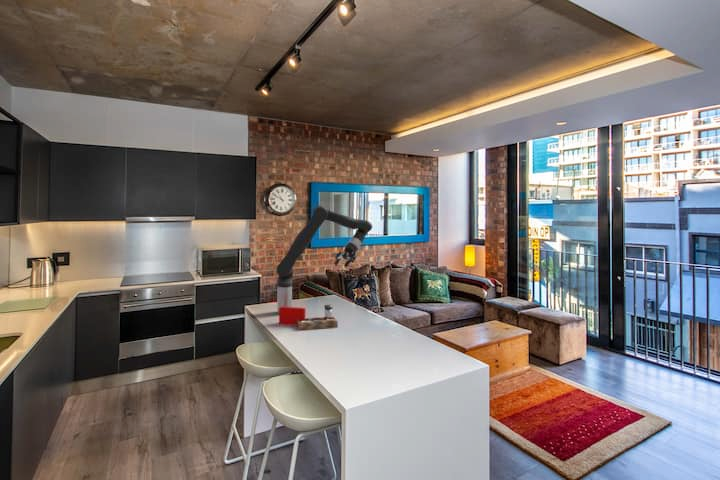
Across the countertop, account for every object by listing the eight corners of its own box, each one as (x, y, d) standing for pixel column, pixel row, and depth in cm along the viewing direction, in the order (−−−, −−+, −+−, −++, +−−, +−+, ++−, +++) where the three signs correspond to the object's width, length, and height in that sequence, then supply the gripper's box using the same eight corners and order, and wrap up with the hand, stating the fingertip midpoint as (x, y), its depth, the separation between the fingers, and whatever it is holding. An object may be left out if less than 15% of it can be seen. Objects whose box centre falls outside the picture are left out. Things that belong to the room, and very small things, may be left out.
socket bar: (299, 330, 207) (299, 322, 207) (296, 324, 216) (296, 317, 216) (337, 327, 214) (337, 320, 214) (333, 322, 223) (333, 315, 223)
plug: (323, 323, 221) (323, 304, 220) (330, 322, 222) (331, 304, 222) (325, 325, 217) (325, 306, 216) (332, 324, 218) (333, 306, 217)
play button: (305, 324, 219) (305, 307, 218) (303, 326, 216) (303, 309, 215) (280, 323, 221) (280, 306, 220) (279, 324, 218) (279, 307, 217)
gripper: (342, 241, 241) (329, 260, 233) (358, 243, 232) (345, 263, 224) (347, 249, 245) (334, 268, 237) (364, 251, 236) (351, 270, 228)
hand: (340, 265), depth 231 cm, fingers open, 8 cm apart
